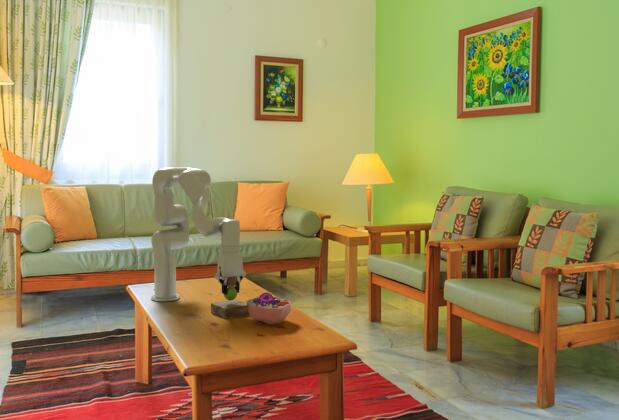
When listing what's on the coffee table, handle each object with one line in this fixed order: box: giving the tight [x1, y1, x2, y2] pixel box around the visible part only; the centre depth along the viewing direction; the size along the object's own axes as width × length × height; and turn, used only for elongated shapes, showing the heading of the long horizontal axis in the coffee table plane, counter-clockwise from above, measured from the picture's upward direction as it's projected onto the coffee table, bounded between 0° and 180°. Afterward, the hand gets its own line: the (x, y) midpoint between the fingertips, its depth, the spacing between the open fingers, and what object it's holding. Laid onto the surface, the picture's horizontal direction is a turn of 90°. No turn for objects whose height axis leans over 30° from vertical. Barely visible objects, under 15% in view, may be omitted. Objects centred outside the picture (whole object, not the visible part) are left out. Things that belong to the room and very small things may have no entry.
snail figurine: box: [220, 275, 238, 301], centre depth 259 cm, size 5×6×12 cm
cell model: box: [245, 292, 292, 325], centre depth 246 cm, size 17×20×11 cm
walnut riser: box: [210, 298, 250, 320], centre depth 260 cm, size 12×12×4 cm
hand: (230, 292), depth 259 cm, fingers closed on snail figurine, 4 cm apart
